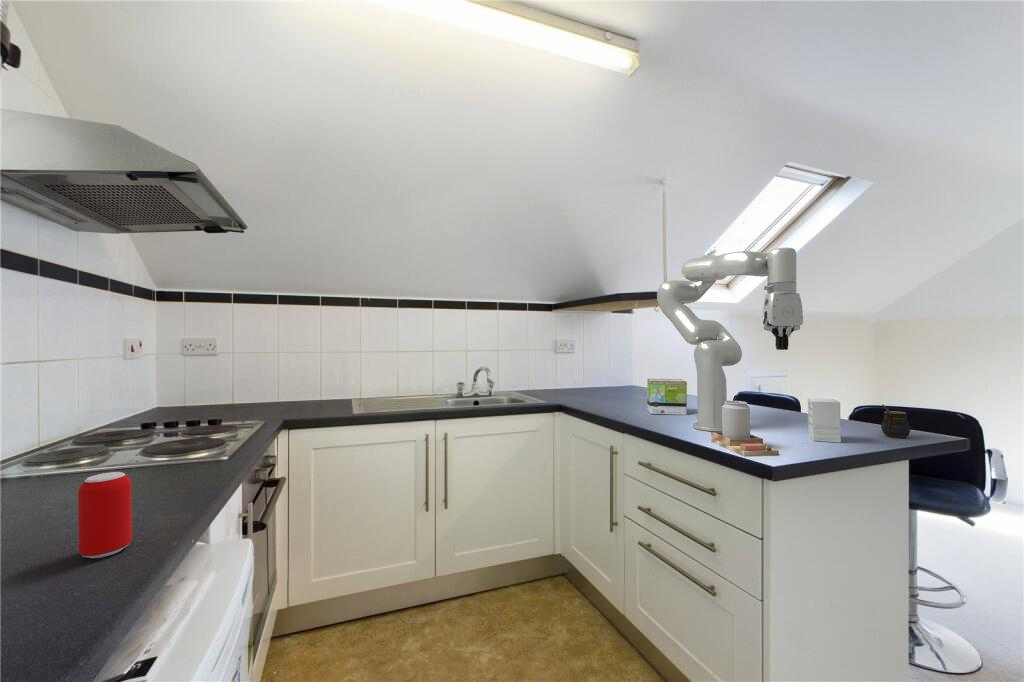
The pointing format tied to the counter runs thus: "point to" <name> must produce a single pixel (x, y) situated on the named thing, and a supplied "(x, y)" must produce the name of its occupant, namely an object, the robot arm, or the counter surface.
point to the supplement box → (824, 420)
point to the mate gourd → (895, 424)
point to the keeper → (753, 446)
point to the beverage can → (104, 514)
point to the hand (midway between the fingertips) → (781, 349)
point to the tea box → (667, 396)
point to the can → (736, 420)
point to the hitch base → (735, 443)
